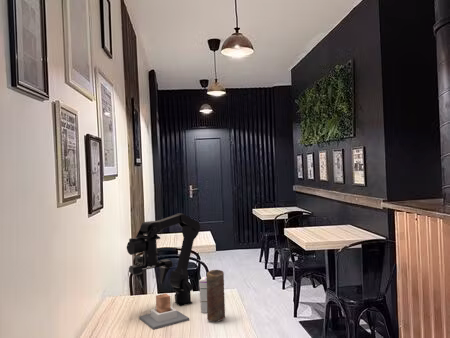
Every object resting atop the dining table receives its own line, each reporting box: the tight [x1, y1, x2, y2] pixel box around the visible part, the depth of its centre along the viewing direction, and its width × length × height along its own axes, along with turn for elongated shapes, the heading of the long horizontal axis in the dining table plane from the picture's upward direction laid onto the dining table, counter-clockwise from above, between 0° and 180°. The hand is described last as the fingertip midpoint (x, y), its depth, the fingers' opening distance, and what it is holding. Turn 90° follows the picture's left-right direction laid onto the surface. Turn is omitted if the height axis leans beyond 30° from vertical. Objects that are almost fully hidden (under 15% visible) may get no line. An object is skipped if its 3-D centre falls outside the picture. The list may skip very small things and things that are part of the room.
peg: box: [155, 293, 172, 313], centre depth 174 cm, size 4×4×9 cm
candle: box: [206, 269, 226, 323], centre depth 170 cm, size 8×7×20 cm
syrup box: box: [198, 276, 207, 314], centre depth 182 cm, size 6×6×14 cm
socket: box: [138, 306, 190, 330], centre depth 174 cm, size 16×16×4 cm
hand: (152, 285), depth 181 cm, fingers open, 9 cm apart
